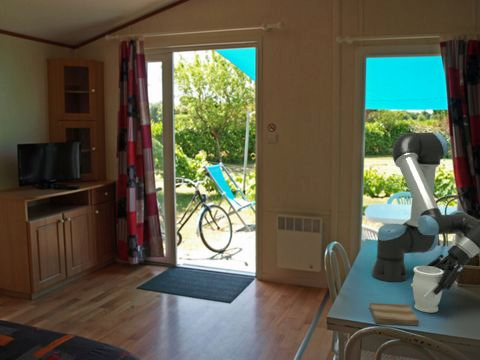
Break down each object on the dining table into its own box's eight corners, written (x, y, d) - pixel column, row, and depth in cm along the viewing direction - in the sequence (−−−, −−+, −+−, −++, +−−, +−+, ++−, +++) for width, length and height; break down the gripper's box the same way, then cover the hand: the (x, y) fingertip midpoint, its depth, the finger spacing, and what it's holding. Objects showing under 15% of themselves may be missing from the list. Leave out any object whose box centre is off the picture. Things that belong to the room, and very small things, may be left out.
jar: (441, 316, 168) (444, 275, 166) (411, 311, 171) (413, 272, 169) (440, 305, 177) (443, 267, 176) (411, 301, 181) (413, 264, 179)
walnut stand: (369, 308, 175) (369, 302, 174) (408, 309, 173) (408, 304, 173) (376, 323, 161) (376, 318, 161) (418, 326, 159) (418, 320, 159)
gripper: (487, 268, 162) (441, 312, 163) (453, 250, 184) (412, 288, 185) (474, 253, 161) (427, 297, 161) (440, 237, 183) (400, 276, 184)
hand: (419, 293), depth 173 cm, fingers closed on jar, 10 cm apart
